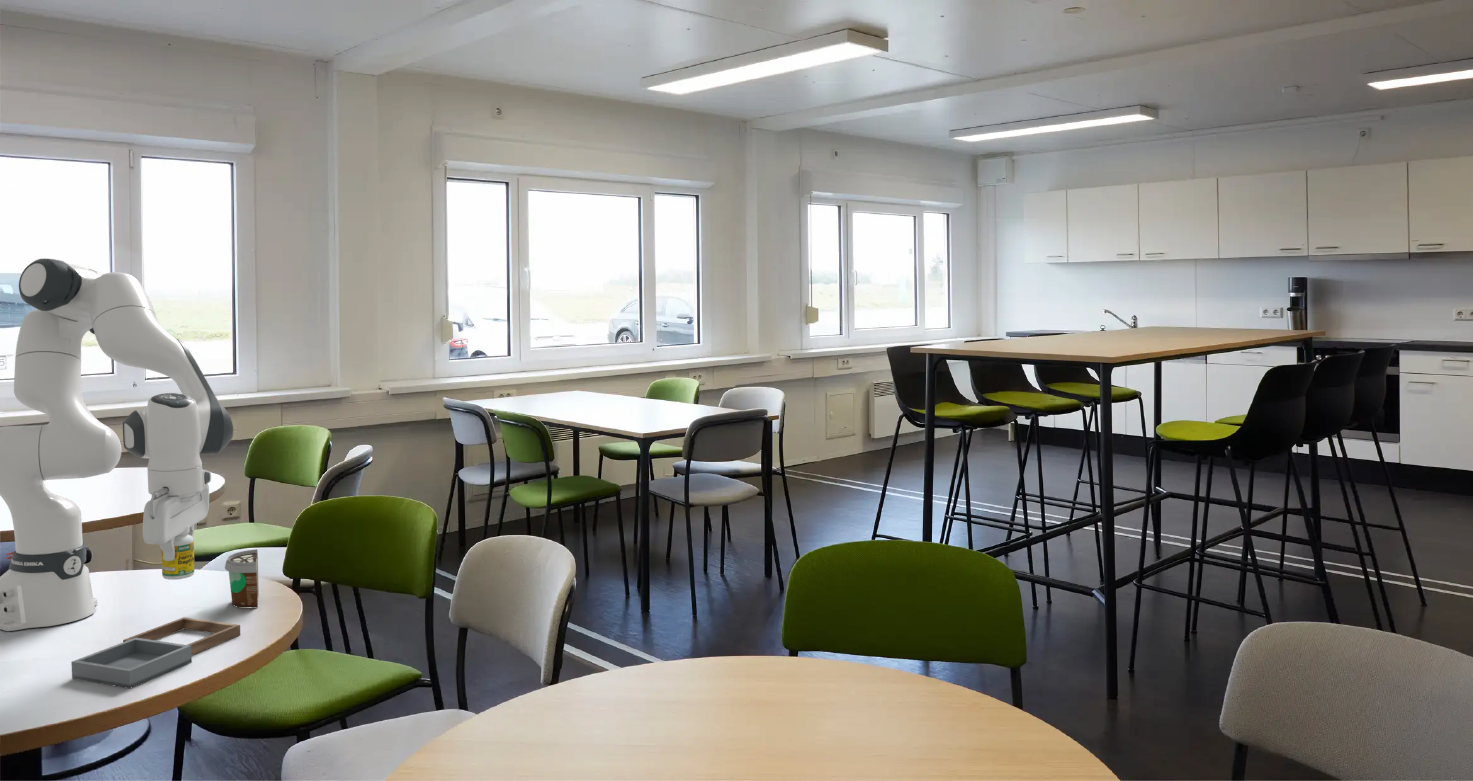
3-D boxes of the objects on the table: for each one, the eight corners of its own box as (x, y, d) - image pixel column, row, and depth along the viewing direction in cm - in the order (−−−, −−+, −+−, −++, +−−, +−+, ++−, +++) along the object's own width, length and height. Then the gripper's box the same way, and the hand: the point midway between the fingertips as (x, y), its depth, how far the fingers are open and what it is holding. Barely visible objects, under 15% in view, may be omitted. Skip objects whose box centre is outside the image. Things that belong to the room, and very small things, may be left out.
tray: (72, 678, 167) (71, 661, 166) (136, 653, 179) (135, 637, 179) (130, 688, 163) (129, 671, 163) (191, 662, 175) (191, 645, 175)
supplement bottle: (177, 570, 187) (176, 521, 186) (201, 573, 186) (200, 524, 185) (154, 578, 182) (153, 528, 181) (179, 581, 180) (177, 530, 179)
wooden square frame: (123, 650, 180) (122, 640, 180) (184, 627, 193) (183, 617, 193) (182, 659, 176) (182, 648, 176) (240, 635, 189) (240, 625, 189)
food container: (227, 596, 213) (225, 551, 212) (258, 593, 216) (257, 548, 215) (224, 613, 202) (222, 565, 201) (257, 609, 205) (256, 562, 204)
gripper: (169, 494, 172) (172, 571, 173) (214, 470, 192) (216, 539, 194) (130, 494, 171) (133, 571, 173) (180, 470, 191) (182, 539, 193)
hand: (178, 554), depth 183 cm, fingers closed on supplement bottle, 5 cm apart
